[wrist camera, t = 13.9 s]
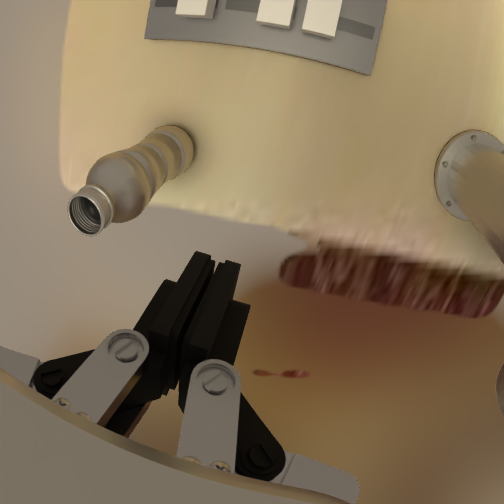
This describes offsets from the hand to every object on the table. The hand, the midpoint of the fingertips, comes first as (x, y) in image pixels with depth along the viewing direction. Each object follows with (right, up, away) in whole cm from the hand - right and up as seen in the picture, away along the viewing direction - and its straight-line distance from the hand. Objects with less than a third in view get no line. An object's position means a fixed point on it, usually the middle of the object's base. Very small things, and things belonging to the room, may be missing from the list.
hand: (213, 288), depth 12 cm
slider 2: (+4, +27, +14) cm, 30 cm away
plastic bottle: (-8, +15, +27) cm, 32 cm away
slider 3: (+9, +26, +14) cm, 31 cm away
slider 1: (-4, +29, +15) cm, 32 cm away
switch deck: (+3, +28, +16) cm, 33 cm away
